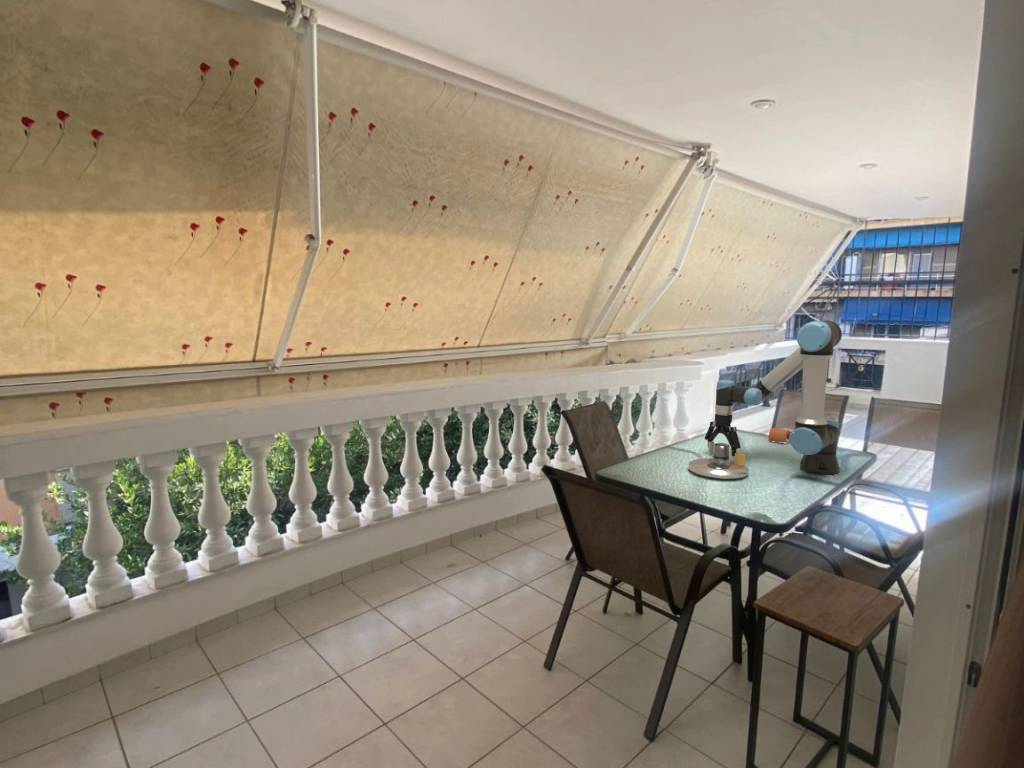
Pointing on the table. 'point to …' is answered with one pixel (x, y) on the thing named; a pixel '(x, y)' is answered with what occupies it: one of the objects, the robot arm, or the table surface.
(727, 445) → the cover
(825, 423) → the robot arm
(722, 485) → the table surface
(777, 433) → the orange elongated piece
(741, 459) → the turntable
